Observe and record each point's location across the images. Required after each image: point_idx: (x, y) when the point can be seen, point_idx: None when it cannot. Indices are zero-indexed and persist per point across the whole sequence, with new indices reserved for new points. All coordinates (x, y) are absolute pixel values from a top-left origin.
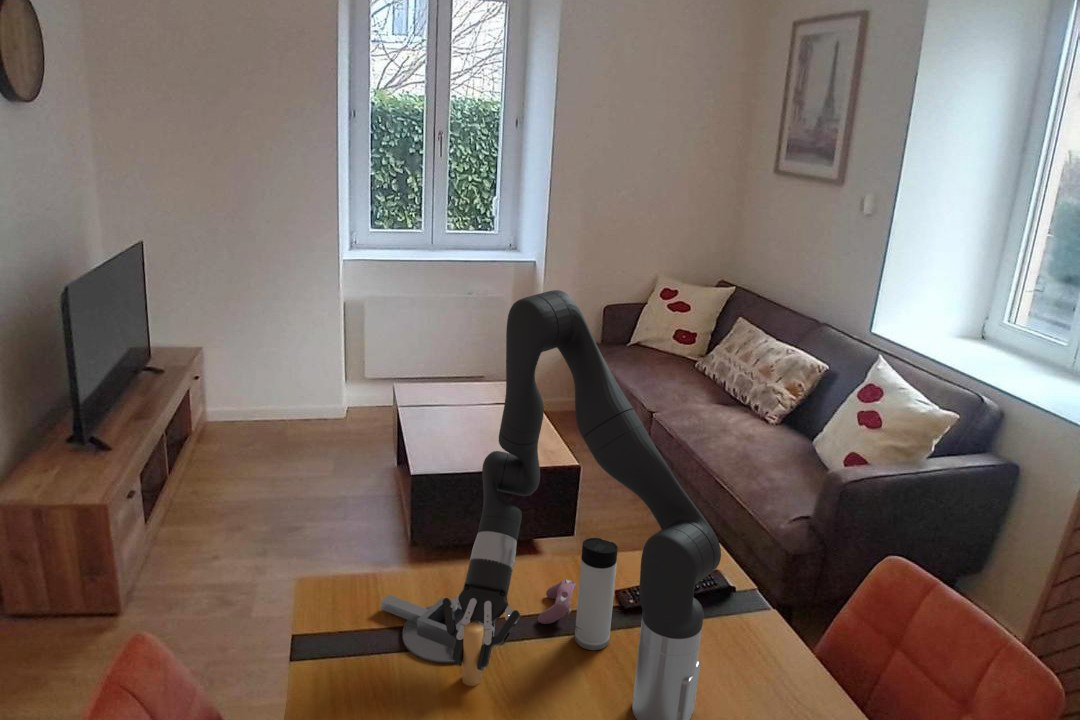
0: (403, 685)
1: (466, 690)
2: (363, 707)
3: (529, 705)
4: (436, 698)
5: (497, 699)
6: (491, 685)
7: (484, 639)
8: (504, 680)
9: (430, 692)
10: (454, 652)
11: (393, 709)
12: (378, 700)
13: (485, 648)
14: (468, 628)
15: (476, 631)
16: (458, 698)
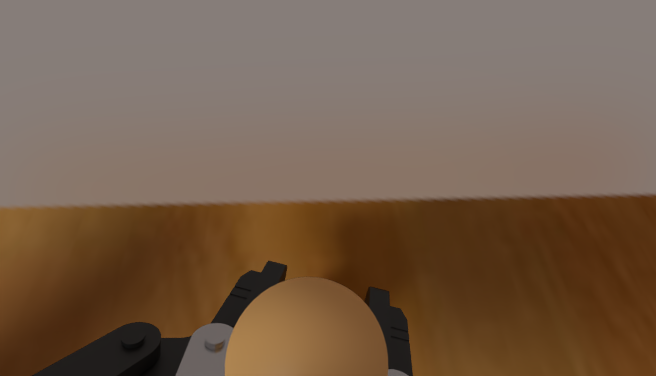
0: (537, 309)
1: None
2: (612, 209)
3: (125, 229)
4: (417, 251)
5: (224, 252)
6: None
7: None
8: None
9: (441, 278)
10: (403, 333)
11: (528, 204)
12: (585, 238)
13: (236, 318)
14: (349, 357)
15: (284, 319)
16: (349, 253)
